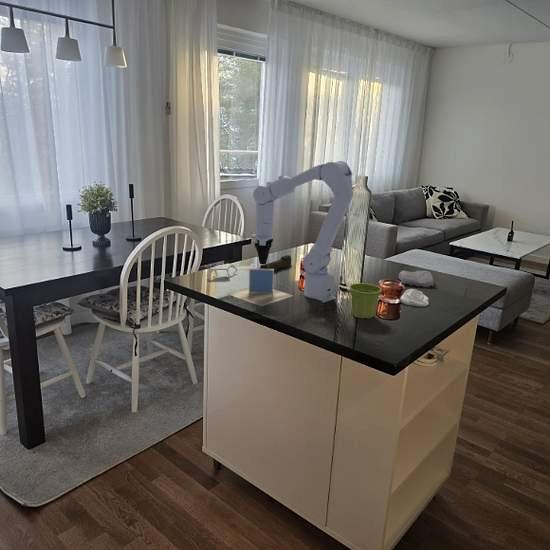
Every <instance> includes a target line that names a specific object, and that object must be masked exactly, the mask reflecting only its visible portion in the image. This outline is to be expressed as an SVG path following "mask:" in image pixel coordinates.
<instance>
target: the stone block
mask: <svg viewBox="0 0 550 550" xmlns="http://www.w3.org/2000/svg"><path fill="white" fill-rule="evenodd" d="M398 278H399V279H400V280H401V281H400V280H399V279H398V280H399V281H400V283H401V282H402V283H404V284H403V285H405V284H409V285H408V286H413V285H416V286H415V287H420V286H423V288H431V287H430V286H433V287H434V278H433V275H432V272H430V271H428V270H416V271H408V270H402V271H400V272H399V273H398ZM402 283H401V284H402Z"/></svg>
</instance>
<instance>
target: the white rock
mask: <svg viewBox="0 0 550 550" xmlns="http://www.w3.org/2000/svg"><path fill="white" fill-rule="evenodd" d="M401 297H402V298H401V301H402V302H401V301H400V302H401V304H404V305H407V306H414V307H427V306H429V304H430V303H429V297H427V296H426V295H425V294H424V293H423V292H422V291H420V290H419V289H415V288H409V289H406V290H405V291H404V293H403V294H402V296H401Z"/></svg>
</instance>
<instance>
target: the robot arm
mask: <svg viewBox="0 0 550 550" xmlns="http://www.w3.org/2000/svg"><path fill="white" fill-rule="evenodd" d="M352 176H353V172H352V170H351V168H350V166H349V165H348V163H347V162H345V161H343V160H339V161H328V162H325V163H323V164H319V165H315V166H313V167H311V168H308V169H306V170H305V171H302V172H300V173H299V174H296V175H294V176H292V177H291V176H288V175H285V176H284V175H279V176H278V179H275V180H273V181H267V182H266V184H265V185H259V186H257V187H256V188H255V189H254V190H253V194H252V195H253V196H252V197H253V200H254V201H255V202H256V205H255V206H256V208H255V209H256V210H255V233H253V234H252V235H251V237H252V238H255V239H256V242H255V243H254V248H255V250H256V253H257V257H258V263H259V264H260V265H265V264H267V262H268V258H269V253H270V249H271V248H272V244H273V242H274V235H273V234H274V205H275V201H276V200H278V199H281V198H283V197H285V196H288V195H290V194H293V193H294V191H295V189H296V188H297V187H299V186H301V185H304V184H307V183H310V182H313V181H314V180H317V181H323V182H324V184H326V185H327V186H328V188H330V190H331V192H332V195H333V199H332V201H331V204H330V206H329V209H328V211H327V212H326V213H327V214H326V216H325V217H324V218H325V219H324V221H323V224H322V226H321V227H320V230H319V233H318V236H317V238H316V240H315V243H314V244H313V245H312V246H311V248H310V249H309V252H308V253H307V254H306V255H305V256H304V257H303V259H302V267H303V269H304V271H305V272H304V287H303V288H304V290H303V296H305V297H307V298H310V299H315V300H318V301H320V302H322V303H323V304H324V303H327V302H329V301H333V300H334V299H336V296H335V285H336V281H335V277H334V276H333V275H332V274H330V273H329V272H328V271H329V270H328V266H329V265H330V263H331V259H332V258H331V253H332V252H333V248H332V247H333V244H334V241H335V239H336V236H337V234H338V231H339V229H340V227H341V225H342V223H343V220H344V218H345V215H346V214H347V211H348V209H349V206H350V204H351V201H352V198H353V197H354V190H353V187H354V186H353V180H352V179H353V178H352Z"/></svg>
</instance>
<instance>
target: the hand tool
mask: <svg viewBox="0 0 550 550" xmlns="http://www.w3.org/2000/svg"><path fill="white" fill-rule="evenodd" d="M290 266H292V257H291V255H289V254H288V255H283V256H281V257H280V259H277V260H275V261H272V262H268V263H266V264H260V266H259V268H262V269H274V271H277V270H280V269H282V268H283V269H286V268H289V267H290Z"/></svg>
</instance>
